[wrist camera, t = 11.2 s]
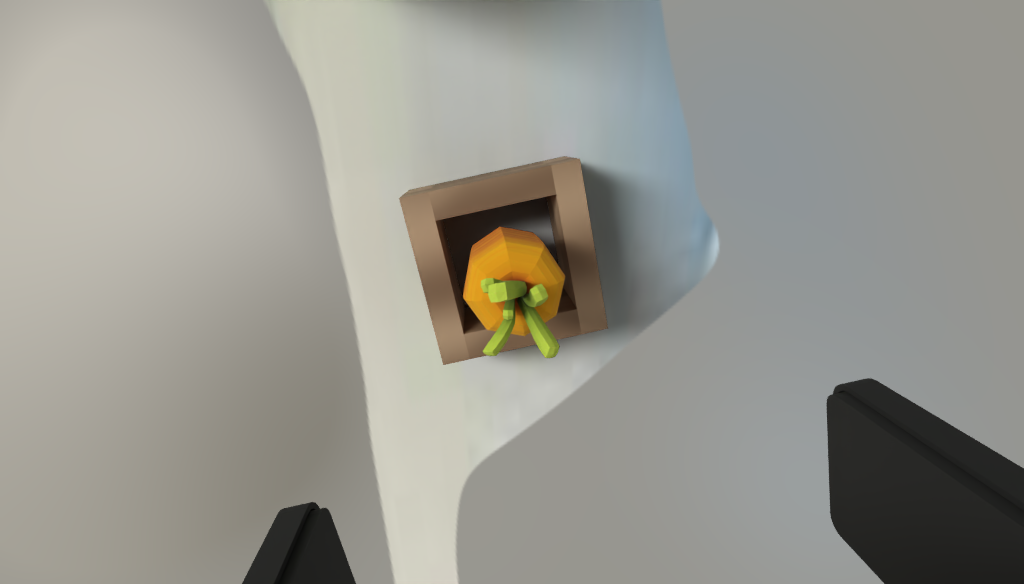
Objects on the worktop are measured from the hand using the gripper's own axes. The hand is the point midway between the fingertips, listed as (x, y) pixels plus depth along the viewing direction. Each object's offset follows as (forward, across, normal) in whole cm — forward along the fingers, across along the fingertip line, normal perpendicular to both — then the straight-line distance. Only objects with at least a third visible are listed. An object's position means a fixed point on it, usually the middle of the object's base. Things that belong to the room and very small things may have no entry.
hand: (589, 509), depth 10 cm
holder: (+26, 0, 0) cm, 26 cm away
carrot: (+26, 0, 0) cm, 26 cm away
